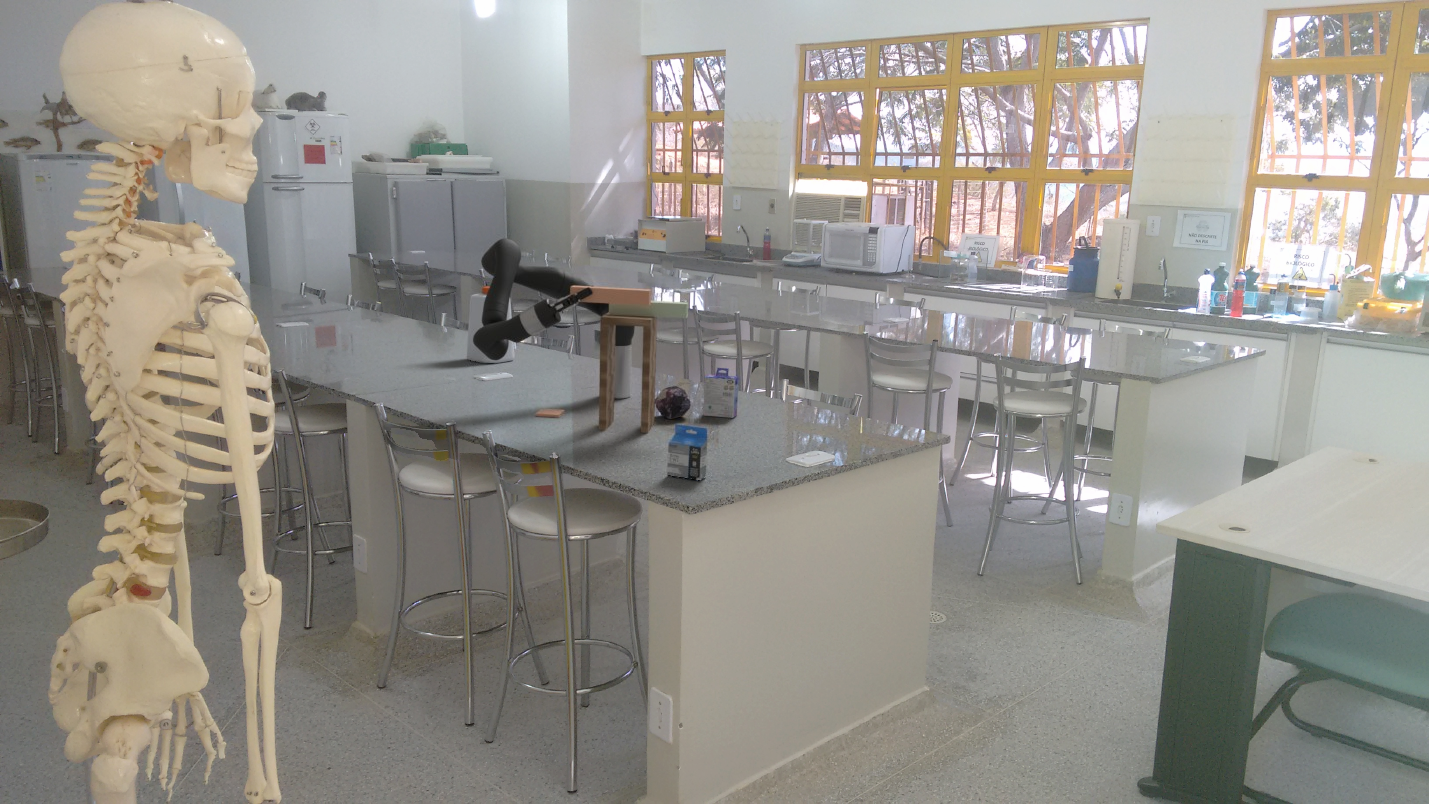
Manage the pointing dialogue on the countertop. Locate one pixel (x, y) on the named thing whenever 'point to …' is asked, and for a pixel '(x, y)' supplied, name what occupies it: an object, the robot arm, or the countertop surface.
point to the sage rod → (651, 309)
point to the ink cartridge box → (720, 394)
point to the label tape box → (687, 452)
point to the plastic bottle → (476, 324)
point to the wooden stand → (608, 367)
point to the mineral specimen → (672, 402)
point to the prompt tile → (549, 413)
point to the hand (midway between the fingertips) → (592, 289)
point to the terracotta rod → (615, 295)
